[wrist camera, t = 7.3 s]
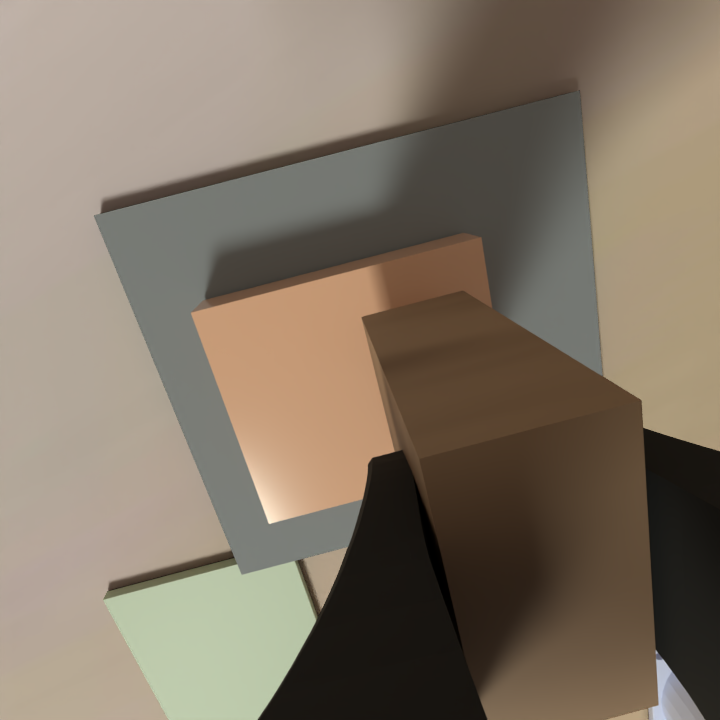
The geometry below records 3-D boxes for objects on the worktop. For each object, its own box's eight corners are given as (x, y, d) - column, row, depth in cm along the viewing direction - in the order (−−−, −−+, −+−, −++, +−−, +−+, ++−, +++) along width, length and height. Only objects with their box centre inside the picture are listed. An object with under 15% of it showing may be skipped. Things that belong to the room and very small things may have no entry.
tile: (515, 458, 15) (269, 524, 15) (496, 434, 17) (272, 492, 17) (481, 237, 13) (190, 312, 13) (463, 232, 15) (203, 299, 15)
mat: (604, 471, 19) (610, 477, 18) (242, 567, 18) (241, 574, 18) (572, 93, 14) (579, 90, 14) (99, 214, 14) (93, 215, 14)
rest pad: (344, 691, 21) (345, 700, 21) (184, 734, 21) (182, 744, 20) (291, 542, 18) (290, 550, 18) (107, 591, 18) (103, 599, 18)
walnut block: (492, 461, 14) (659, 705, 7) (403, 485, 14) (486, 751, 7) (463, 290, 12) (641, 400, 6) (361, 316, 12) (419, 458, 6)
